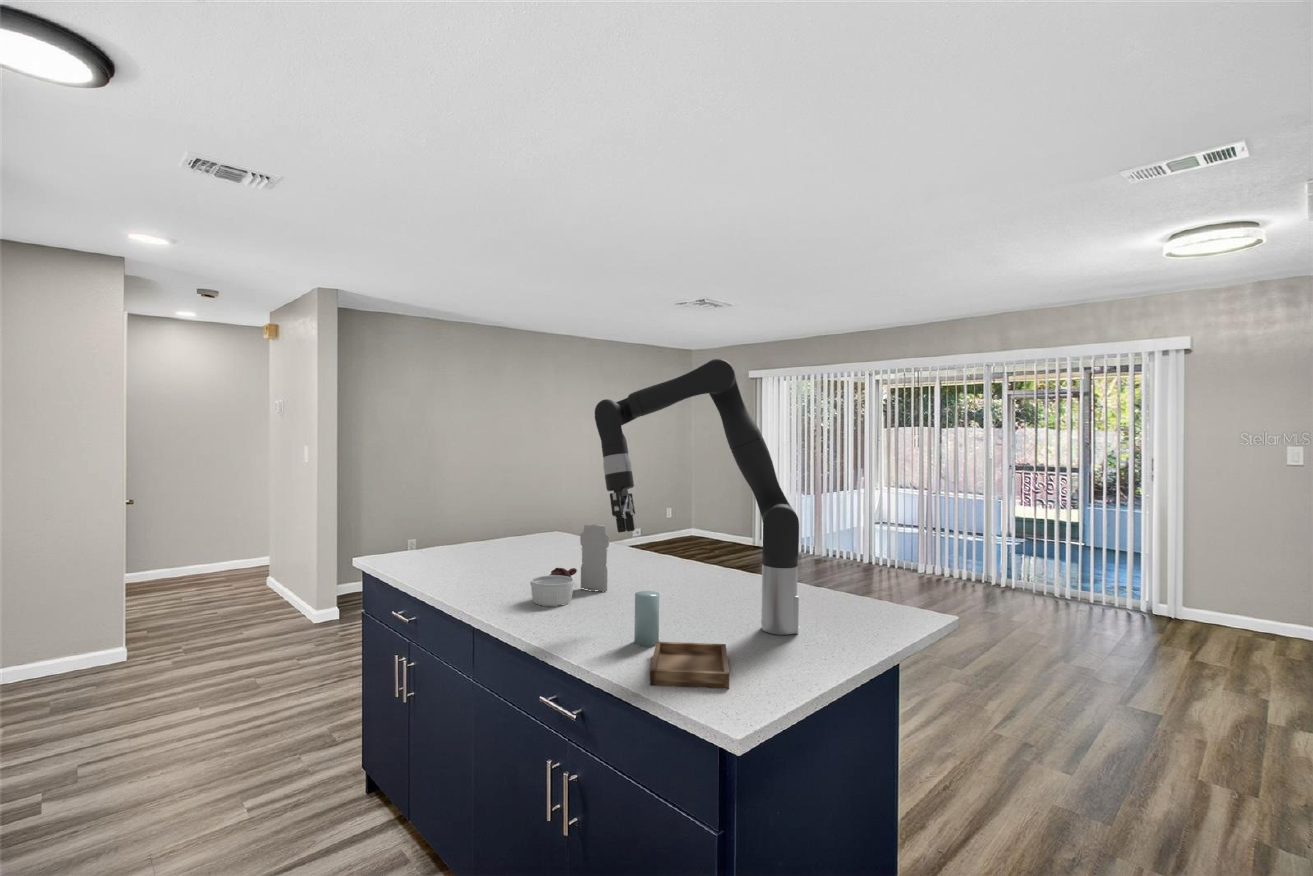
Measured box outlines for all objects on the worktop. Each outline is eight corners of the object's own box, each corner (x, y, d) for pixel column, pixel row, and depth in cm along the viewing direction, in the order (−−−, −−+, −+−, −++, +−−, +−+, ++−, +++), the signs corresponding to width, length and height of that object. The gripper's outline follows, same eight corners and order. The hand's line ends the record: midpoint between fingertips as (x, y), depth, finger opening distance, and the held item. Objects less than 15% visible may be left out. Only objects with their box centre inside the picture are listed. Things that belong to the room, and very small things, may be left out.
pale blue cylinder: (659, 639, 152) (660, 591, 152) (657, 647, 146) (658, 597, 146) (635, 638, 153) (636, 590, 153) (633, 646, 147) (633, 596, 147)
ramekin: (558, 594, 195) (558, 573, 195) (582, 603, 185) (583, 580, 185) (522, 601, 186) (522, 578, 186) (545, 610, 176) (545, 586, 176)
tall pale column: (611, 590, 201) (611, 523, 201) (605, 593, 197) (606, 525, 197) (582, 587, 205) (583, 522, 205) (576, 590, 201) (577, 523, 201)
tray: (725, 657, 140) (725, 644, 140) (729, 688, 122) (729, 674, 122) (656, 654, 141) (656, 641, 141) (649, 685, 123) (650, 670, 123)
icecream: (553, 574, 195) (585, 570, 207) (538, 565, 200) (570, 562, 212) (548, 594, 196) (579, 589, 208) (533, 585, 200) (565, 581, 212)
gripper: (624, 468, 158) (633, 530, 156) (637, 471, 172) (646, 528, 169) (596, 473, 159) (605, 534, 157) (612, 476, 173) (620, 532, 171)
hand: (626, 531), depth 163 cm, fingers open, 8 cm apart
